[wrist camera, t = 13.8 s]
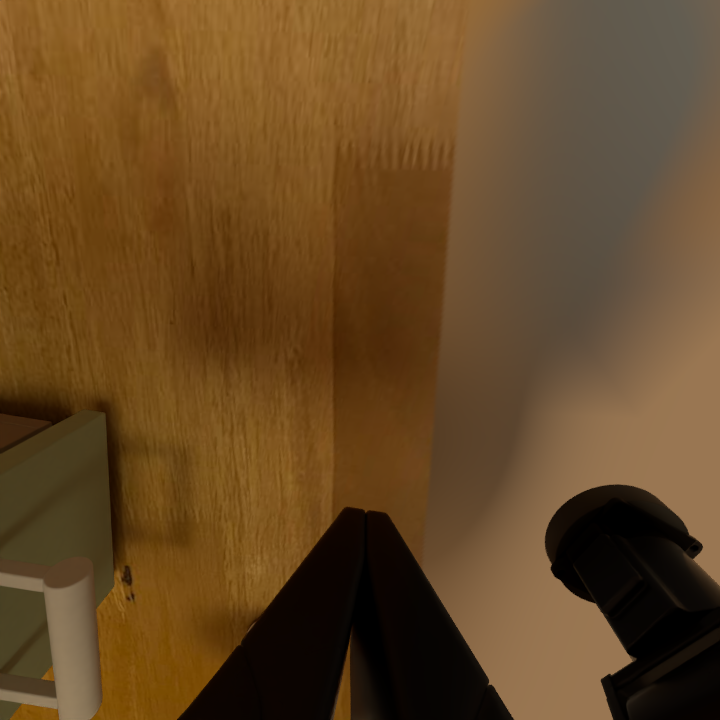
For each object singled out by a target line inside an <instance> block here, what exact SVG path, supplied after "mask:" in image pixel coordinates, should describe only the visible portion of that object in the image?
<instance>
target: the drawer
mask: <svg viewBox="0 0 720 720" xmlns="http://www.w3.org/2000/svg"><path fill="white" fill-rule="evenodd" d="M113 587H114V566H113V547H112V528H111V508H110V489H109V470H108V450H107V431H106V414H105V413H104V412H98V411H92V410H85V409H84V410H81V411H80V412H78V413H76V414H74V415H72V416H70V417H68V418H67V419H65V420H63V421H61V422H59V423H57V424H55V425H54V426H52V422H50V421H44V420H38V419H31V418H25V417H19V416H12V415H6V414H0V720H9V719H10V718H11V717H12V715H13V714H14V713H15V711H16V710H17V709H18V708H19V706H20V705H21V704H22V703H24V704H30V705H36V706H42V707H49V708H55V709H58V712H59V720H90V719H91V718H92V717H93V716H94V715H95V713H96V712H97V711H98V709H99V707H100V705H101V703H102V684H101V670H100V656H99V642H98V628H97V614H96V609H97V607H98V606H99V605H100V603H101V602H102V601H103V600H104V598H105V597H106V596H107V595H108V593H109V592H110V591H111V589H112V588H113ZM52 664H53V671H54V679H55V681H49V680H43V679H41V678H42V677H43V676H44V675H45V673H46V672H47V671H48V670H49V668H50V667H51V666H52Z"/></svg>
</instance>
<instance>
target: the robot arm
mask: <svg viewBox="0 0 720 720" xmlns="http://www.w3.org/2000/svg"><path fill="white" fill-rule="evenodd" d="M618 505H619V507H617V506H618ZM616 507H617V508H616ZM702 548H703V546H702V544H701V543H700V542H699V541H698V540H697V539H696V538H694V537H693V536H691V535H689V534H687V533H685V532H683V531H681V530H680V529H678V528H676V527H674V526H672V525H670V524H668V523H666V522H665V521H663V520H661V519H659V518H657V517H655V516H653V515H651V514H650V513H648V512H646V511H644V510H642V509H640V508H638V507H637V506H635V505H633V504H631V503H629V502H627V501H625V500H623V499H622V498H619V497H614V498H612V499H610V500H609V501H608V502H607V503H606V504H605V505H604V506H603V508H602V509H601V510H600V511H599V512H598V513H597V514H596V515H595V517H594V518H593V519H592V520H591V521H590V522H589V523H588V524H587V526H586V527H585V528H584V529H583V530H582V531H581V532H580V533H579V535H578V536H577V537H576V538H575V539H574V540H573V541H572V542H571V544H570V545H569V546H568V547H567V548H566V549H565V550H564V551H563V553H562V554H561V555H560V556H559V557H558V558H557V559H556V560H555V561H554V563H553V564H552V565H551V571H552V573H553V575H554V577H556V578H557V579H559V580H561V581H563V582H565V583H567V584H569V585H571V586H573V587H575V588H577V589H579V590H581V591H583V592H585V593H587V594H589V595H591V596H592V598H593V600H594V601H595V603H596V604H597V606H598V608H599V609H600V610H601V612H602V613H603V614H604V616H605V618H606V619H607V621H608V623H609V624H610V626H611V628H612V629H613V631H614V632H615V634H616V636H617V637H618V639H619V641H620V642H621V644H622V645H623V647H624V649H625V650H626V652H627V653H628V654H629V656H630V658H631V659H632V661H633V662H631V663H630V664H628V665H627V666H625V667H624V668H622V669H621V670H619V671H618V672H616V673H614V674H613V675H611V674H608V675H607V676H605V677H604V678H602V679H601V683H602V686H603V689H604V692H605V694H606V697H607V702H608V705H609V708H610V711H611V714H612V717H613V720H720V586H719V585H718V584H717V583H716V582H715V581H714V580H713V579H712V578H711V577H710V576H709V575H708V574H707V573H706V572H705V571H704V570H703V569H702V568H701V567H700V566H699V565H698V564H697V563H696V562H695V561H694V560H693V559H694V558H695V557H696V556H697V555H698V554H699V553H700V552H701V550H702ZM559 570H560V571H559ZM350 635H351V640H350ZM349 640H350V686H351V720H514V719H513V717H512V716H511V714H510V713H509V711H508V710H507V708H506V706H505V705H504V703H503V701H502V700H501V698H500V697H499V695H498V693H497V692H496V690H495V688H494V687H493V686H492V685H488V683H489V679H488V677H487V676H486V674H485V672H484V671H483V669H482V667H481V666H480V664H479V662H478V661H477V659H476V658H475V656H474V654H473V653H472V651H471V649H470V648H469V646H468V645H467V643H466V641H465V640H464V638H463V636H462V635H461V633H460V631H459V630H458V628H457V627H456V625H455V623H454V622H453V620H452V618H451V617H450V615H449V614H448V612H447V610H446V609H445V607H444V605H443V604H442V602H441V600H440V599H439V597H438V596H437V594H436V592H435V591H434V589H433V588H432V586H431V584H430V582H429V581H428V579H427V578H426V576H425V574H424V573H423V571H422V569H421V568H420V566H419V565H418V563H417V561H416V560H415V558H414V556H413V555H412V553H411V551H410V550H409V548H408V547H407V545H406V543H405V542H404V540H403V538H402V537H401V535H400V533H399V532H398V530H397V529H396V527H395V525H394V524H393V522H392V520H391V519H390V517H389V516H388V514H386V513H384V512H378V511H371V510H368V511H367V512H366V513H365V511H364V510H363V509H358V508H352V507H345V508H344V509H343V510H342V511H341V512H340V514H339V515H338V516H337V518H336V519H335V520H334V522H333V523H332V524H331V525H330V527H329V528H328V529H327V531H326V532H325V533H324V535H323V536H322V537H321V538H320V540H319V541H318V542H317V544H316V545H315V546H314V547H313V549H312V550H311V551H310V553H309V554H308V555H307V557H306V558H305V559H304V560H303V562H302V563H301V564H300V566H299V567H298V568H297V570H296V571H295V572H294V573H293V575H292V576H291V577H290V579H289V580H288V581H287V582H286V584H285V585H284V586H283V588H282V589H281V590H280V592H279V593H278V594H277V595H276V597H275V598H274V599H273V601H272V602H271V603H270V605H269V606H268V607H267V608H266V610H265V611H264V612H263V614H262V615H261V616H260V617H259V619H258V620H257V621H256V623H255V624H254V625H253V627H252V628H251V629H250V630H249V632H248V633H247V634H246V636H245V637H244V638H243V640H242V641H241V645H238V646H237V647H236V648H235V649H234V651H233V652H232V653H231V655H230V656H229V657H228V659H227V660H226V661H225V662H224V664H223V665H222V666H221V668H220V669H219V670H218V671H217V673H216V674H215V675H214V676H213V678H212V679H211V680H210V681H209V682H208V684H207V685H206V686H205V687H204V689H203V690H202V691H201V692H200V693H199V695H198V696H197V697H196V698H195V700H194V701H193V702H192V703H191V704H190V706H189V707H188V708H187V709H186V710H185V711H184V713H183V714H182V715H181V716H180V717H179V718H178V719H177V720H333V719H334V714H335V709H336V704H337V699H338V694H339V690H340V685H341V680H342V675H343V670H344V666H345V661H346V656H347V651H348V645H349Z"/></svg>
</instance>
